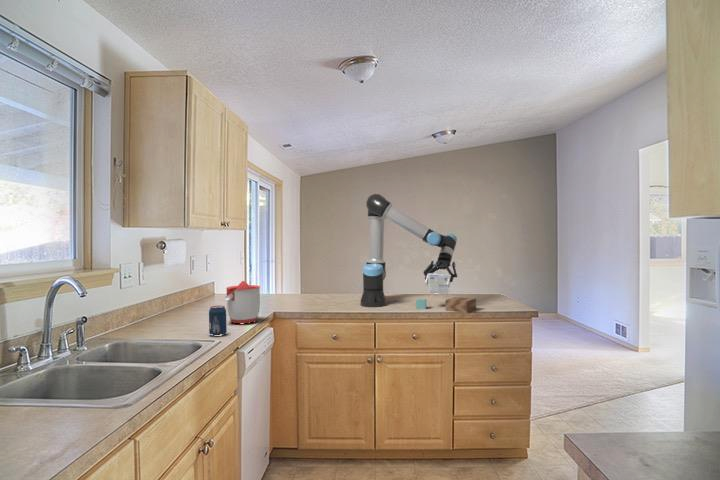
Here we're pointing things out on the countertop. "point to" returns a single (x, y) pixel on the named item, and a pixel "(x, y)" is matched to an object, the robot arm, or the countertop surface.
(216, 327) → the soda can
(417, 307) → the teal block
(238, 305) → the citrus juicer
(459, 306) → the walnut block
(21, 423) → the countertop surface
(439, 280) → the light bulb box
